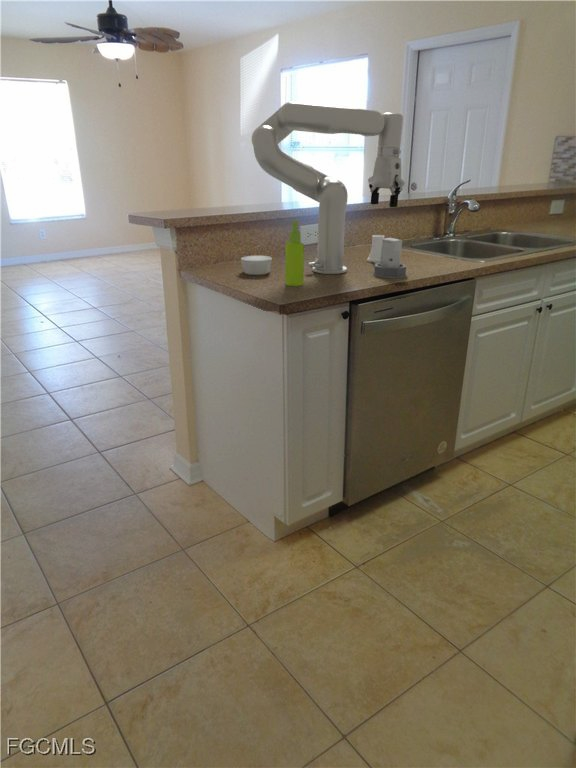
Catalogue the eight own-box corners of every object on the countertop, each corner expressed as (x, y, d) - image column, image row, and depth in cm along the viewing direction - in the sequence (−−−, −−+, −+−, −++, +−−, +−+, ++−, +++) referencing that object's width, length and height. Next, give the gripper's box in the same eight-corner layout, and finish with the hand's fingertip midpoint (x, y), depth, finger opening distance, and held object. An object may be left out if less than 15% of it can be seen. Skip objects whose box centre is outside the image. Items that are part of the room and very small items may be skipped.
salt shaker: (371, 258, 224) (373, 233, 220) (388, 260, 221) (390, 235, 217) (364, 261, 218) (365, 236, 214) (381, 263, 215) (383, 237, 211)
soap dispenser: (302, 281, 186) (303, 220, 178) (303, 286, 180) (304, 223, 172) (285, 281, 186) (285, 220, 178) (285, 286, 180) (286, 222, 172)
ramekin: (237, 270, 202) (237, 256, 200) (266, 268, 205) (266, 254, 203) (246, 276, 192) (245, 261, 190) (276, 274, 196) (276, 259, 194)
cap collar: (390, 279, 189) (391, 270, 187) (366, 274, 197) (367, 264, 196) (412, 275, 195) (413, 266, 194) (388, 270, 204) (389, 260, 202)
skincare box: (378, 272, 197) (381, 238, 192) (387, 271, 200) (389, 237, 195) (391, 276, 193) (394, 240, 188) (399, 274, 195) (403, 239, 190)
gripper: (414, 154, 183) (408, 207, 190) (379, 152, 196) (375, 202, 203) (398, 153, 179) (392, 208, 186) (363, 152, 192) (359, 203, 199)
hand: (383, 205), depth 194 cm, fingers open, 9 cm apart
